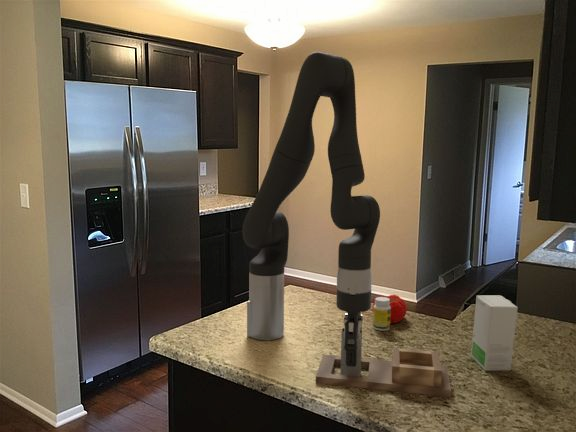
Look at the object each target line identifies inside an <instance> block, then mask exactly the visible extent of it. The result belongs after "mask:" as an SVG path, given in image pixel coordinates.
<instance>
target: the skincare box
mask: <svg viewBox="0 0 576 432" xmlns="http://www.w3.org/2000/svg"><path fill="white" fill-rule="evenodd" d="M518 309H519V307H518V306H517V305H515V304H514V303H512V301H511V300H509V299H506V298H505V297H504V296H502V295H498V294H497V295H491V294H490V295H487V294H486V295H476V298H475V309H474V310H475V311H474V319H473V321H474V322H473V330H472V340H471V351H470V356H471V358H472V359H473V360H474V361H475V362H476V363H477V364H478V366H480V367H481V368H482V369H483V370H484V371H485V372H491V371H494V372H496V371H497V372H498V371H511V369H512V362H513V360H512V359H513V352H514V351H513V350H514V343H515V342H514V341H515V335H516V334H515V333H516V326H517V317H518Z"/></svg>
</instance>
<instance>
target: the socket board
mask: <svg viewBox="0 0 576 432" xmlns="http://www.w3.org/2000/svg"><path fill="white" fill-rule="evenodd" d="M440 360H441V359H440V356H439V352H438V351H431V350H423V349H422V350H421V349H410V348H398V347H392V355H391V360H389V359H388V360H387V359H379V358H368V357H367V358H366V357H361V369H363V368H364V369H368V375H367V377H366V376H365V377H364V376H360V377H358V376H347V375H341V374H337V373H336V374H335V373H334V370H335V369H334V368H335V366H340V367H341V355H334V354H333V355H332V354H322V357H321V360H320V364H319V366H318V368H317V372H316V375H315V384H321V385H322V384H323V385H331V386H342V387H350V388H351V387H353V388H359V389H360V388H361V389H368V390H369V389H370V390H377V391H388V392H398V393H409V394H419V395H426V396H427V395H428V396H439V397H446V398H447V397H449V398H451V397H452V386H451V382H450V377H449V374H448V373H449V372H448V369H447V365H443V364H442V365H441V361H440Z"/></svg>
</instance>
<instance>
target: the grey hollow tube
mask: <svg viewBox="0 0 576 432" xmlns="http://www.w3.org/2000/svg"><path fill="white" fill-rule="evenodd" d="M340 336H341V340H340V343H341V345H340V356H341V366H340V375H347V376H358V377H361V376H362V375H361V373H362V368H361V358H362V353H363V352H362V351H363V350H362V348H363V329H361V330H360V339H359V340H358V342H357V346H358V349H357V361H356V366H355V367H352V366H347V365H346V350H345V348H344V346H345V338H344V327H342V329H341V335H340ZM348 344H354V340H353V339H349V340H348Z"/></svg>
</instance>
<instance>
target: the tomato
mask: <svg viewBox="0 0 576 432" xmlns="http://www.w3.org/2000/svg"><path fill="white" fill-rule="evenodd" d="M378 297H386V298H389V299H390V307H391V317H390V324H395V323H398V322H400V321H402V320H403V319H404V318H405V316H406V315H407V310H408V309H407V304H406V302H405V300H404V299H403V298H401V297H400V296H398V295H396V294H390V295H388V296H384V295H379V296H378ZM374 305H375V300H374V301H373V305H372V307H371V308H372V313H373V312H374Z"/></svg>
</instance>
